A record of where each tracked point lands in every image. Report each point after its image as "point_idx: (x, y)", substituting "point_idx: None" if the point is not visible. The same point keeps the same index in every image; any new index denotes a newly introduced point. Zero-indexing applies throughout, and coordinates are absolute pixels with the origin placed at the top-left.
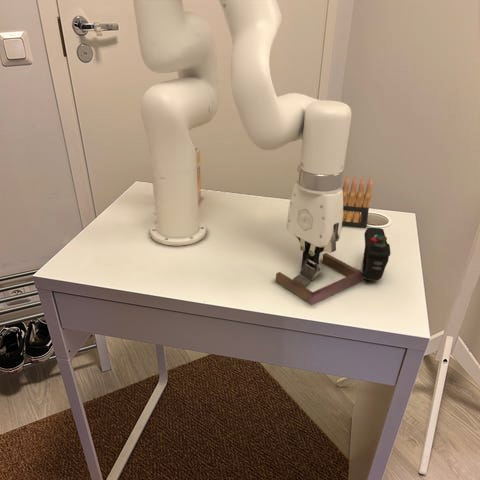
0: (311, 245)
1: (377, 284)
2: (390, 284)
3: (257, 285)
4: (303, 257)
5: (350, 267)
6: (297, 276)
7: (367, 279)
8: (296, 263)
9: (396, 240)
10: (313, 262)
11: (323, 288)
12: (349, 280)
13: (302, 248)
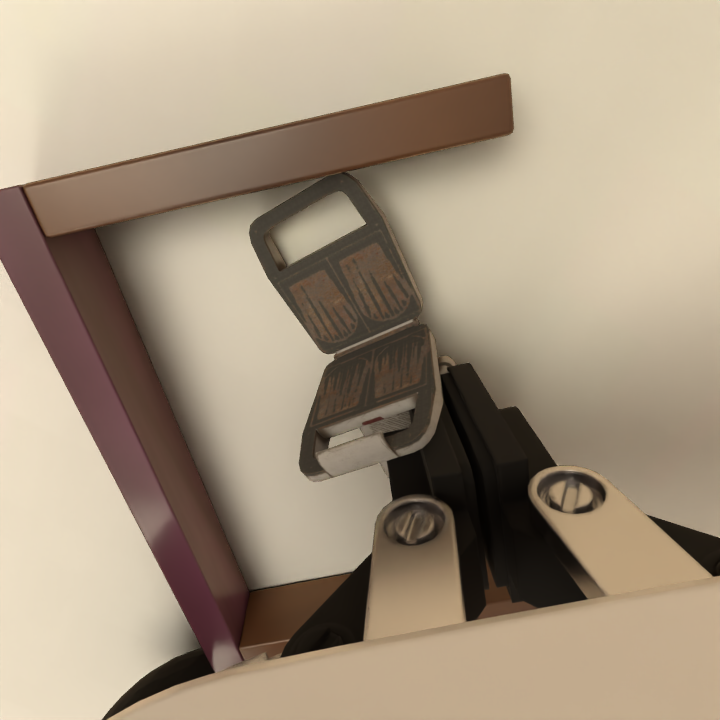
0: (446, 608)
1: None
2: None
3: None
4: (488, 429)
5: None
6: (403, 284)
7: (191, 651)
8: (615, 402)
9: None
10: (342, 463)
11: (84, 358)
12: (168, 571)
13: (576, 491)
